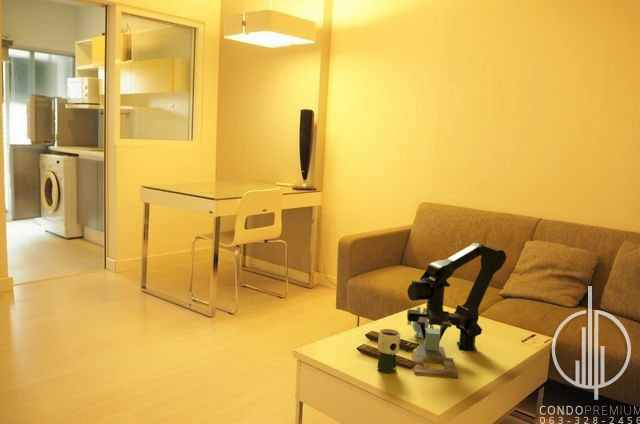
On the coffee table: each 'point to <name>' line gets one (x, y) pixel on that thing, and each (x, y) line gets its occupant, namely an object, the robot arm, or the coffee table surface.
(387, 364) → the character mug
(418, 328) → the toy figure
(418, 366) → the walnut pocket plate
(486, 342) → the coffee table surface
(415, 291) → the robot arm
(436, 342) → the slate block
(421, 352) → the rubber mat
